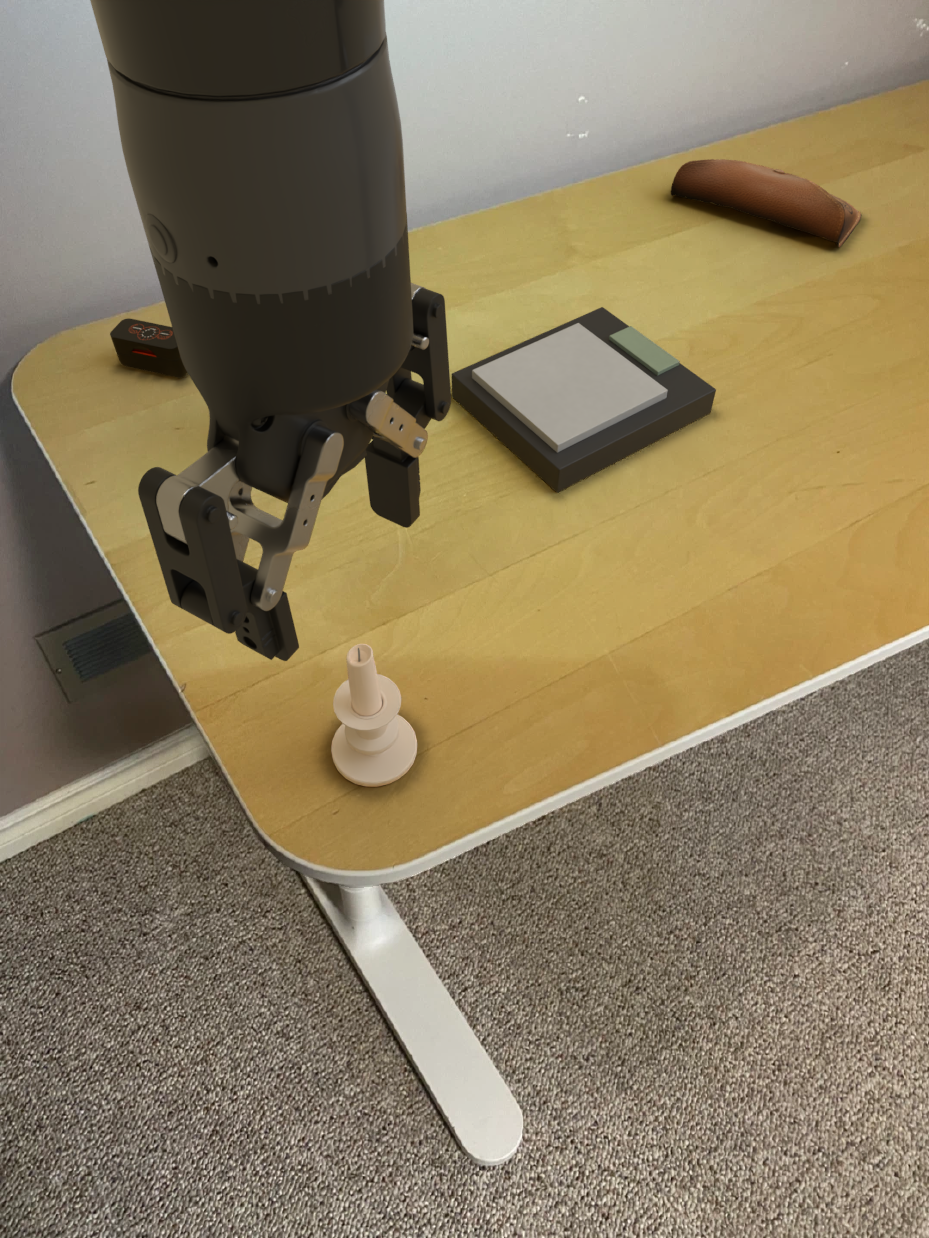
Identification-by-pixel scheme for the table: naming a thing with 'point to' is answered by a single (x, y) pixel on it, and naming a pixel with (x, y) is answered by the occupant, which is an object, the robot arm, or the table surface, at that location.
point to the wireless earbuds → (148, 347)
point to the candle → (370, 725)
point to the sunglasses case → (767, 196)
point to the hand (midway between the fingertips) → (338, 577)
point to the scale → (581, 396)
